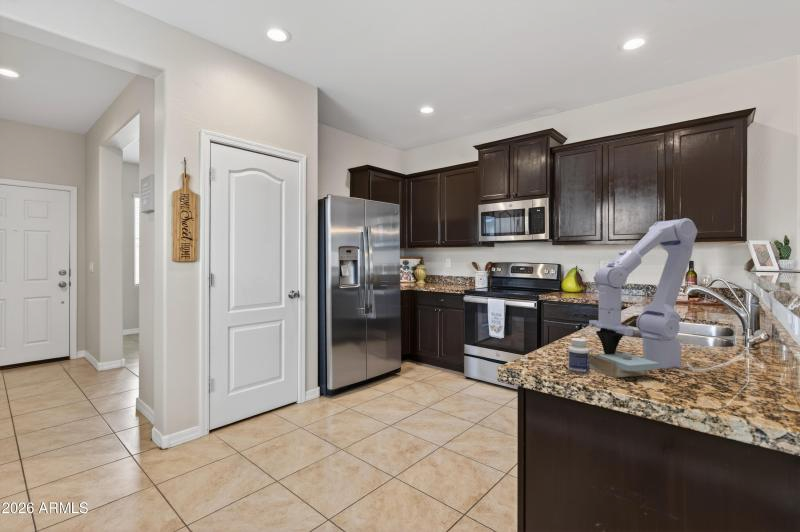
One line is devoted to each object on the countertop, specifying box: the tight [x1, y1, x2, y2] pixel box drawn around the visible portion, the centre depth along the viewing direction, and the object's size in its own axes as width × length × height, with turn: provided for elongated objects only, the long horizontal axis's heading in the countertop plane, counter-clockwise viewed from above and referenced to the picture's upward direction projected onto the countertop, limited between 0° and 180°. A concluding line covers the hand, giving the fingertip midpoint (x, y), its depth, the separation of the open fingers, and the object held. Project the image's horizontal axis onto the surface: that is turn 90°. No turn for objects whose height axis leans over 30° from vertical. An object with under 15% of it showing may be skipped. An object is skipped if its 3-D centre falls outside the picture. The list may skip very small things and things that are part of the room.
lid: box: [598, 352, 660, 371], centre depth 104 cm, size 9×11×2 cm
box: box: [590, 349, 649, 379], centre depth 109 cm, size 11×12×5 cm
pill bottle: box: [567, 337, 591, 375], centre depth 107 cm, size 5×5×10 cm
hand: (609, 356), depth 110 cm, fingers closed
